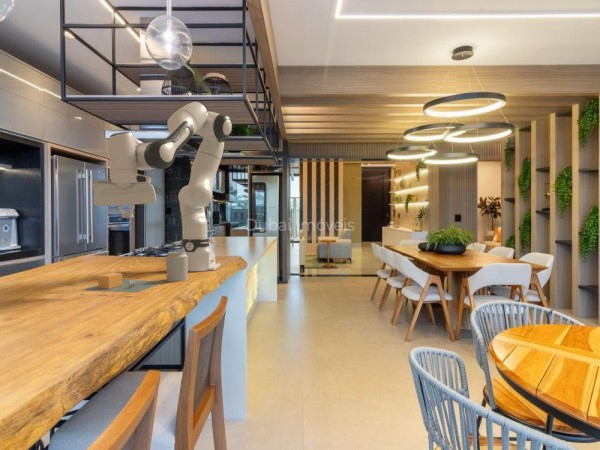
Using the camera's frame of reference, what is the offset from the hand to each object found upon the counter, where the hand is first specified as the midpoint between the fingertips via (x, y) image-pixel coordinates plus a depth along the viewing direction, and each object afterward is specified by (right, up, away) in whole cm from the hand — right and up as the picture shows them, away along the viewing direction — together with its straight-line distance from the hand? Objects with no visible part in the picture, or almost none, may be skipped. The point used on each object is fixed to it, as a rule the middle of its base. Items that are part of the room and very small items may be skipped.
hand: (127, 217), depth 138 cm
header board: (+2, -25, -5) cm, 25 cm away
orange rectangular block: (-2, -23, -7) cm, 24 cm away
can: (+16, -25, +6) cm, 30 cm away
